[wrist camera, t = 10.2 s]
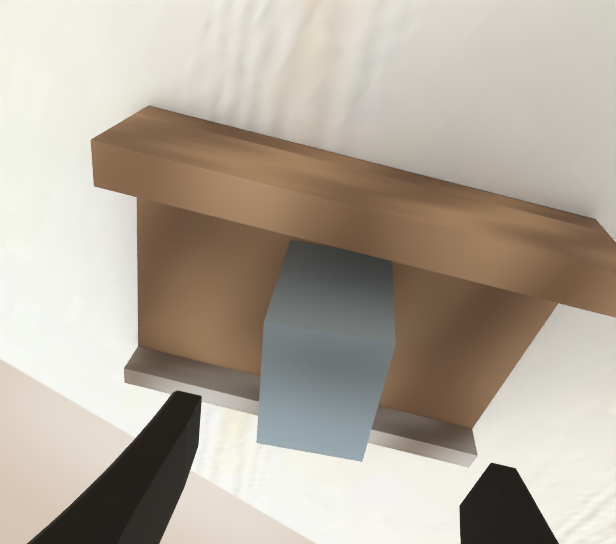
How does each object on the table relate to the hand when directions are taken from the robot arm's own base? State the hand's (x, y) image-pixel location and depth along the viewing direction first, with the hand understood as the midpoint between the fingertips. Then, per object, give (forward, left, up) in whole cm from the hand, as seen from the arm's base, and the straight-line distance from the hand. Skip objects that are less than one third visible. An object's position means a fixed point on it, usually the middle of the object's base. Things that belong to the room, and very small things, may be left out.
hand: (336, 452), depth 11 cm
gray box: (0, +2, -8) cm, 9 cm away
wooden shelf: (0, +2, -9) cm, 10 cm away
